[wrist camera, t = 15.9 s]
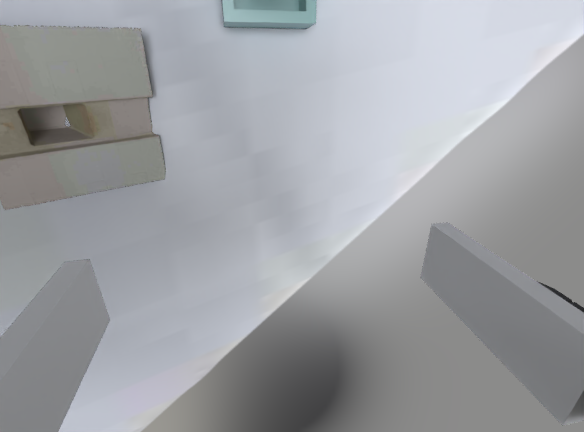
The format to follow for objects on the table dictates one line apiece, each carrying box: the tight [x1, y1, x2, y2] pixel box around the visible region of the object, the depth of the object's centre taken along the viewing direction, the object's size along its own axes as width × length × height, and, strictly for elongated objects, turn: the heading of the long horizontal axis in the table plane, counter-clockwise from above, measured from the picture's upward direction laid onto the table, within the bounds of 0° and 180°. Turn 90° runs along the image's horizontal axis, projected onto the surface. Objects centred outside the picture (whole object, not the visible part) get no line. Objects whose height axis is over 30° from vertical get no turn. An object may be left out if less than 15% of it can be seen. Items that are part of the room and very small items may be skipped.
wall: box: [0, 25, 166, 210], centre depth 31 cm, size 16×9×15 cm
